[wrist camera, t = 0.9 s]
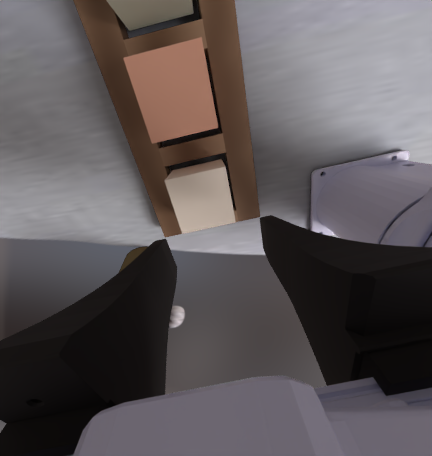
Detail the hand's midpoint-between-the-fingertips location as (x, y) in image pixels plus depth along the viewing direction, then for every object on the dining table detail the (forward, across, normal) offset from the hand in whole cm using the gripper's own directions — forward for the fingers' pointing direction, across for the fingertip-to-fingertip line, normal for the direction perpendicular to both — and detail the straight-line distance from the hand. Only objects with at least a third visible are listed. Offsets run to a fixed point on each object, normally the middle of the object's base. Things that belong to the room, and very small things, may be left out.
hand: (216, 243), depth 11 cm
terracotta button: (+9, +1, -8) cm, 12 cm away
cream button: (+9, +1, -1) cm, 9 cm away
